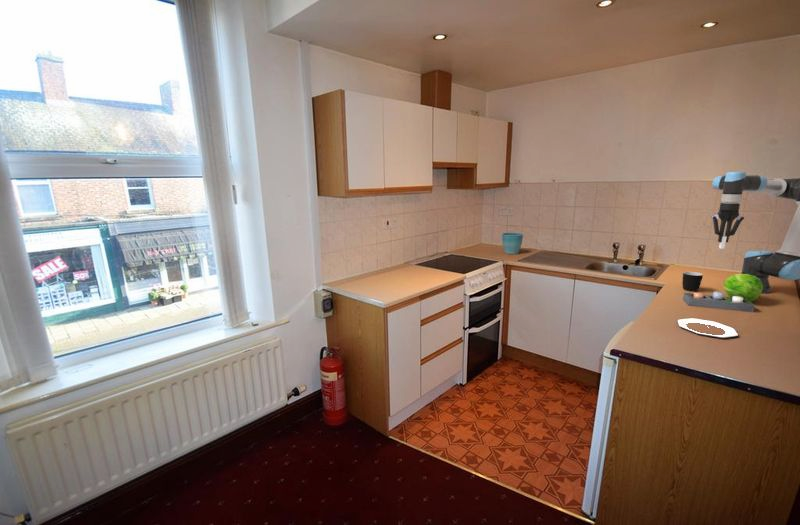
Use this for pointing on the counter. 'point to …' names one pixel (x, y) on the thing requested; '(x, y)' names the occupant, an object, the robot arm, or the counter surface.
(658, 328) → the counter surface
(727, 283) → the lettuce
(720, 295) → the key slate
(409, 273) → the counter surface
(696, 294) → the key rust
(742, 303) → the panel
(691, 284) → the mug
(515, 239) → the flower pot
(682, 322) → the plate
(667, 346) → the counter surface
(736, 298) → the key ivory
